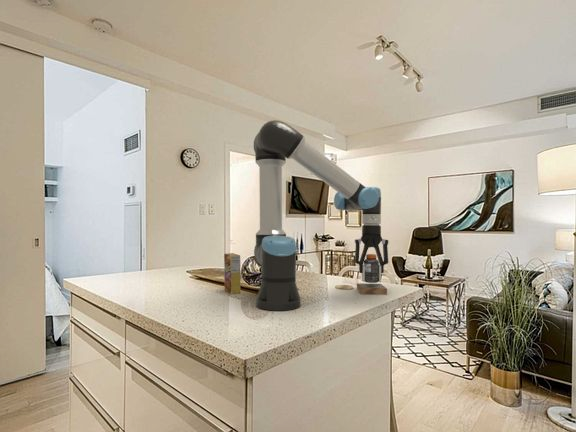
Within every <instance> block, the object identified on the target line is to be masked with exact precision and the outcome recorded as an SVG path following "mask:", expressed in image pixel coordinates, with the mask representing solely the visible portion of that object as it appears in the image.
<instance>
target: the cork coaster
mask: <svg viewBox="0 0 576 432" xmlns="http://www.w3.org/2000/svg"><path fill="white" fill-rule="evenodd" d="M334 288H335V289H336V290H337V289H338V290H347V291H348V290H354V286H353V285H349V284H336V285H335V286H334Z"/></svg>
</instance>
